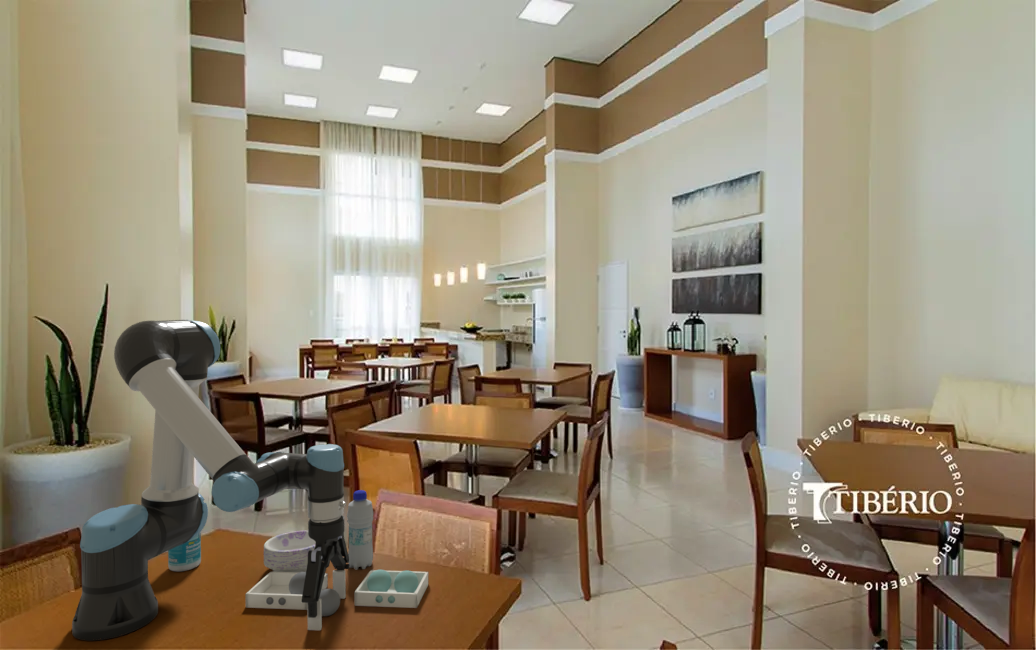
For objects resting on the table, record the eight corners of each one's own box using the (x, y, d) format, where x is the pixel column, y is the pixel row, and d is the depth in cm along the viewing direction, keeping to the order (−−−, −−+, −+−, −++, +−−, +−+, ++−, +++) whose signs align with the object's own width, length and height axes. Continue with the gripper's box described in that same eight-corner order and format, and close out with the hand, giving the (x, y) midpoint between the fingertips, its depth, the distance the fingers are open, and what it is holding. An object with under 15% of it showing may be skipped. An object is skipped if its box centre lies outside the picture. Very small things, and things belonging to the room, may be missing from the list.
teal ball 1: (363, 599, 133) (363, 575, 133) (371, 587, 138) (371, 565, 138) (387, 600, 132) (387, 576, 132) (394, 588, 138) (394, 565, 138)
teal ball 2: (391, 600, 132) (391, 576, 132) (398, 588, 138) (397, 565, 138) (415, 601, 132) (414, 577, 132) (420, 589, 137) (420, 566, 137)
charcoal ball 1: (284, 602, 132) (284, 578, 131) (295, 590, 137) (295, 567, 137) (307, 602, 131) (307, 578, 131) (318, 591, 137) (317, 568, 137)
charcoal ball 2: (309, 620, 124) (309, 595, 124) (320, 607, 130) (319, 583, 130) (334, 621, 124) (334, 596, 124) (344, 608, 130) (343, 584, 129)
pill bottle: (190, 572, 148) (190, 520, 147) (161, 572, 148) (161, 520, 148) (206, 560, 155) (206, 510, 155) (179, 560, 155) (178, 510, 155)
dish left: (245, 610, 129) (244, 594, 129) (270, 585, 141) (270, 571, 140) (306, 612, 128) (306, 596, 128) (327, 587, 139) (327, 573, 139)
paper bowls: (304, 553, 160) (304, 524, 160) (339, 567, 151) (339, 536, 151) (251, 573, 148) (251, 542, 147) (286, 589, 139) (285, 556, 138)
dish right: (354, 608, 130) (354, 592, 130) (370, 584, 141) (370, 570, 141) (416, 610, 129) (416, 594, 129) (428, 586, 140) (428, 571, 140)
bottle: (366, 573, 147) (366, 495, 147) (342, 571, 148) (341, 493, 148) (378, 562, 154) (377, 487, 153) (355, 560, 155) (354, 485, 155)
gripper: (319, 539, 114) (320, 646, 114) (362, 499, 139) (363, 587, 139) (282, 538, 115) (284, 645, 115) (332, 498, 139) (333, 586, 140)
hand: (327, 613), depth 127 cm, fingers open, 13 cm apart
